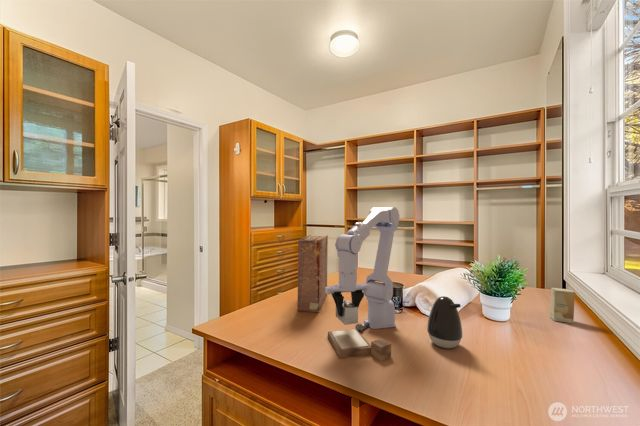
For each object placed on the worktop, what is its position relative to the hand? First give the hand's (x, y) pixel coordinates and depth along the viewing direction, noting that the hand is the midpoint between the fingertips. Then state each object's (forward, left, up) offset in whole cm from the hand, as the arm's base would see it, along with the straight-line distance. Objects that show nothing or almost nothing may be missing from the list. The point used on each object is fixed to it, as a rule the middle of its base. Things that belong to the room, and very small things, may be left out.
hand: (347, 314), depth 87 cm
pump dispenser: (-30, +8, -9) cm, 32 cm away
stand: (0, +2, -9) cm, 9 cm away
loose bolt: (-10, -9, -9) cm, 16 cm away
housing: (0, -1, -2) cm, 2 cm away
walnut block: (-7, +10, -9) cm, 15 cm away
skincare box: (-89, +1, -9) cm, 89 cm away
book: (+2, -40, -9) cm, 41 cm away
